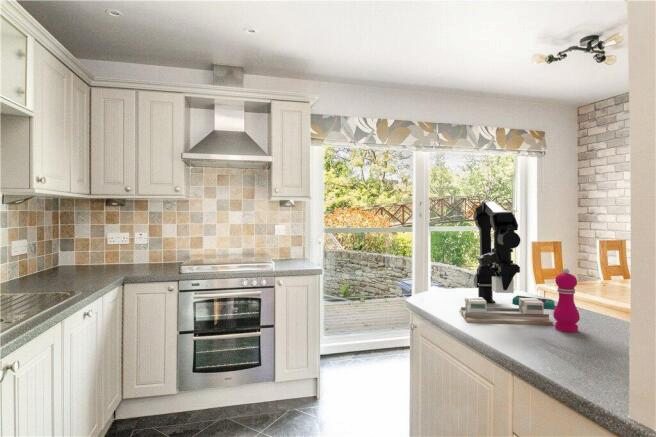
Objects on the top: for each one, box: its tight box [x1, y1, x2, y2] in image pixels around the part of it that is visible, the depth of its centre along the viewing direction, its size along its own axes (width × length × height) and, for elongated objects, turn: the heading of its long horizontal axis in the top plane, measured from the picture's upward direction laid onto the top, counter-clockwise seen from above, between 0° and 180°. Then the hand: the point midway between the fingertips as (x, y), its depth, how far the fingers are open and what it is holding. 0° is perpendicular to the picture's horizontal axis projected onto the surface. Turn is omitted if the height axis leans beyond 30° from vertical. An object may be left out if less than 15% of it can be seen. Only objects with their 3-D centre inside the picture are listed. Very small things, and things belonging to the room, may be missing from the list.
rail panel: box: [459, 296, 554, 325], centre depth 135 cm, size 14×28×7 cm, turn 81°
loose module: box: [492, 276, 515, 294], centre depth 135 cm, size 5×6×5 cm
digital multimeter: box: [511, 295, 555, 309], centre depth 153 cm, size 7×15×3 cm, turn 51°
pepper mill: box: [553, 268, 581, 333], centre depth 121 cm, size 7×7×20 cm
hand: (502, 288), depth 135 cm, fingers closed on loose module, 5 cm apart
